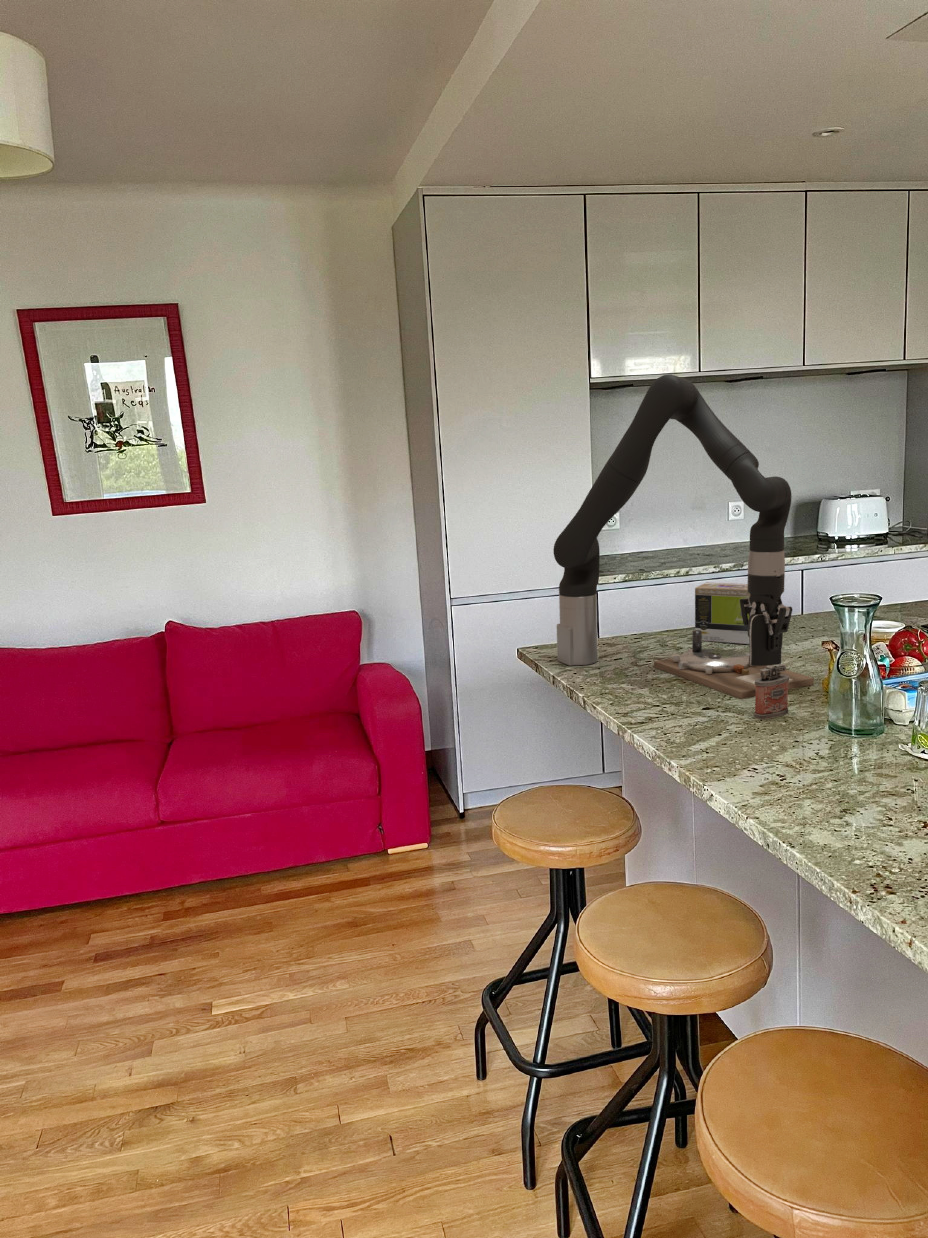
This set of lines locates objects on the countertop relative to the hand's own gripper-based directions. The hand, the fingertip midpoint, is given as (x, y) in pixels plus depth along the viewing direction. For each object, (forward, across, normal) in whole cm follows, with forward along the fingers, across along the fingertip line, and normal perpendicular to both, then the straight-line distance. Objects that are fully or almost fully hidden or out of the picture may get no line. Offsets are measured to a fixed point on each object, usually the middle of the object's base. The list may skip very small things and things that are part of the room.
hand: (764, 648), depth 197 cm
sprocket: (+7, -16, 0) cm, 18 cm away
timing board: (+9, -11, 0) cm, 14 cm away
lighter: (+9, +16, -12) cm, 22 cm away
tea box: (+9, -39, +23) cm, 47 cm away
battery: (+4, 0, 0) cm, 4 cm away
